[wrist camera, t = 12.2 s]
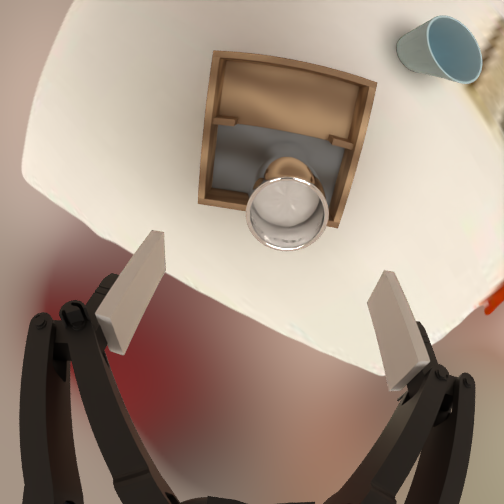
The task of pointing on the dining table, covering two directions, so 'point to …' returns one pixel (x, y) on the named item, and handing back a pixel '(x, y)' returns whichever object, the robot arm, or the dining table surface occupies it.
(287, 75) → the caddy
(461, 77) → the cup
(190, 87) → the dining table surface
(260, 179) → the shiny metal cylinder
